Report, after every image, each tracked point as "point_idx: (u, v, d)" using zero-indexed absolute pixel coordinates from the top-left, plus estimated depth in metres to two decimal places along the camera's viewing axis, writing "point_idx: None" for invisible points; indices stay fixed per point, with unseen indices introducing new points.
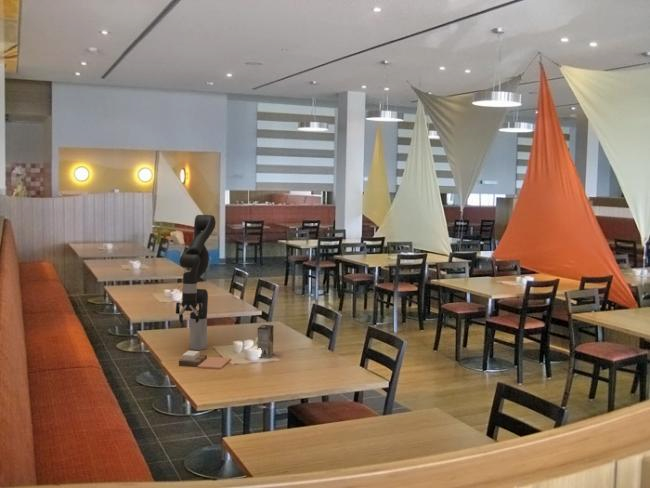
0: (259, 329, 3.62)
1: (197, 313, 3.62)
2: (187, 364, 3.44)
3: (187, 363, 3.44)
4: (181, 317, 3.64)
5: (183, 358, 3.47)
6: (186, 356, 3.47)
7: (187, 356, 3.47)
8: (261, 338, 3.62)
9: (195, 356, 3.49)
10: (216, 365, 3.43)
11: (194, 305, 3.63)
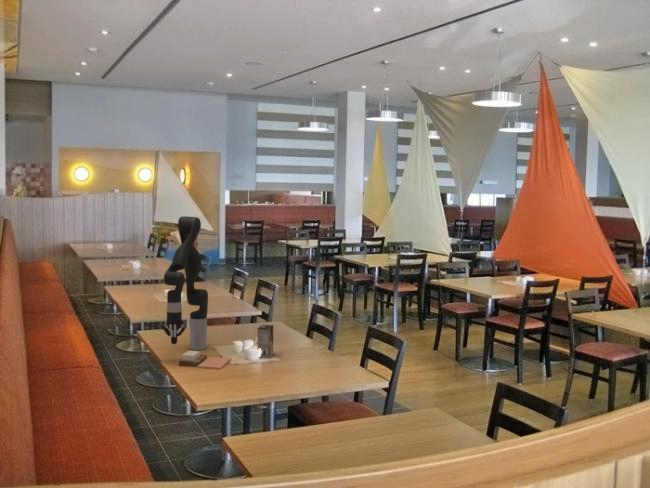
0: (259, 329, 3.62)
1: (175, 334, 3.50)
2: (187, 364, 3.44)
3: (187, 363, 3.44)
4: (173, 339, 3.50)
5: (183, 358, 3.47)
6: (186, 356, 3.47)
7: (187, 356, 3.47)
8: (261, 338, 3.62)
9: (195, 356, 3.49)
10: (216, 365, 3.43)
11: (178, 324, 3.49)
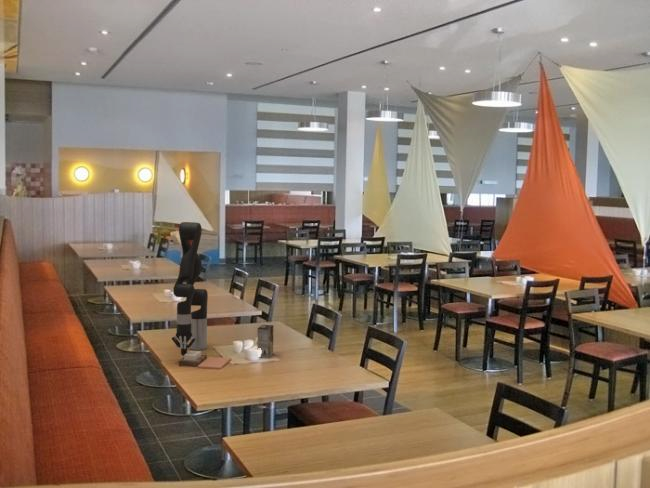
0: (259, 329, 3.62)
1: (185, 346, 3.50)
2: (187, 364, 3.44)
3: (187, 363, 3.44)
4: (183, 351, 3.50)
5: (185, 358, 3.47)
6: (188, 356, 3.47)
7: (189, 356, 3.46)
8: (261, 338, 3.62)
9: (197, 356, 3.49)
10: (216, 365, 3.43)
11: (188, 336, 3.49)
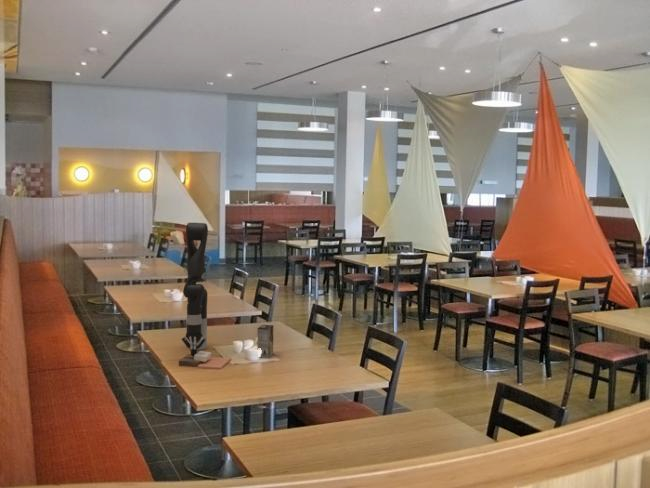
0: (259, 329, 3.62)
1: (195, 347, 3.49)
2: (187, 364, 3.44)
3: (187, 363, 3.44)
4: (193, 351, 3.50)
5: (195, 358, 3.46)
6: (198, 357, 3.46)
7: (199, 357, 3.46)
8: (261, 338, 3.62)
9: (207, 357, 3.48)
10: (216, 365, 3.43)
11: (198, 336, 3.48)
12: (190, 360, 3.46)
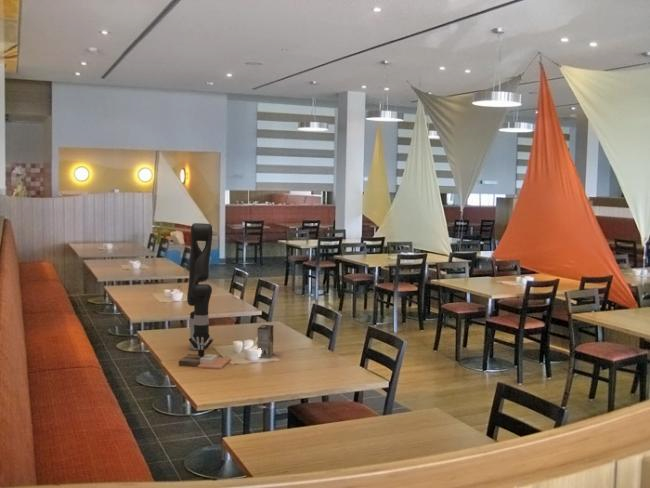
0: (259, 329, 3.62)
1: (202, 347, 3.48)
2: (187, 364, 3.44)
3: (187, 363, 3.44)
4: (200, 352, 3.49)
5: (200, 362, 3.46)
6: (204, 360, 3.46)
7: (205, 360, 3.45)
8: (261, 338, 3.62)
9: (212, 360, 3.47)
10: (216, 365, 3.43)
11: (206, 337, 3.48)
12: (190, 360, 3.46)
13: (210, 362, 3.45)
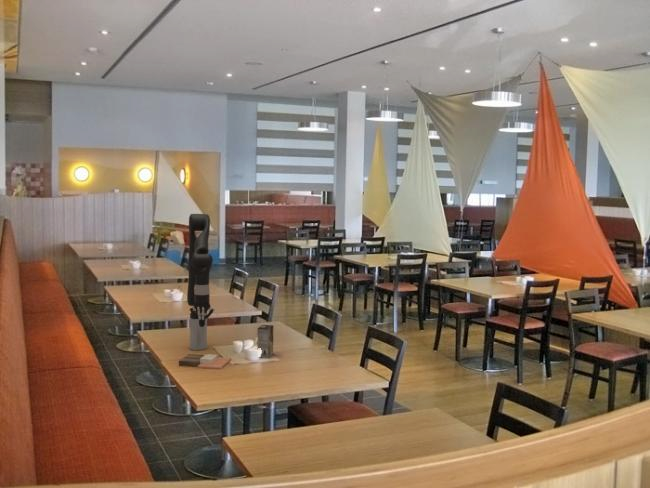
0: (259, 329, 3.62)
1: (203, 317, 3.47)
2: (187, 364, 3.44)
3: (187, 363, 3.44)
4: (201, 322, 3.48)
5: (200, 362, 3.46)
6: (204, 360, 3.46)
7: (205, 360, 3.45)
8: (261, 338, 3.62)
9: (212, 360, 3.47)
10: (216, 365, 3.43)
11: (206, 307, 3.46)
12: (190, 360, 3.46)
13: (210, 362, 3.45)
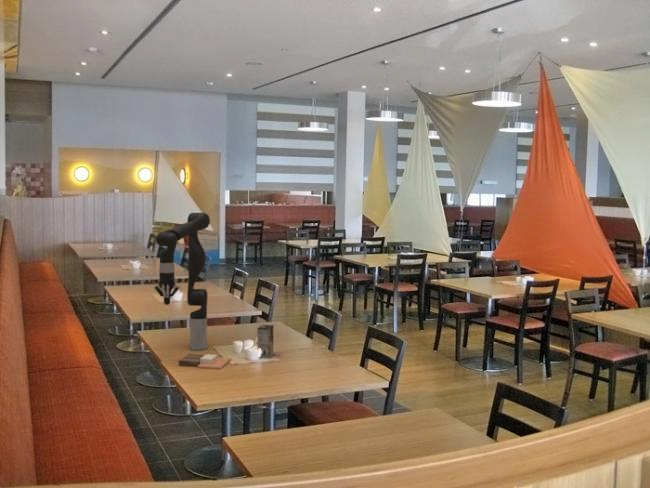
0: (259, 329, 3.62)
1: (168, 295, 3.52)
2: (187, 364, 3.44)
3: (187, 363, 3.44)
4: (166, 300, 3.52)
5: (200, 362, 3.46)
6: (204, 360, 3.46)
7: (205, 360, 3.45)
8: (261, 338, 3.62)
9: (212, 360, 3.47)
10: (216, 365, 3.43)
11: (171, 285, 3.51)
12: (190, 360, 3.46)
13: (210, 362, 3.45)
